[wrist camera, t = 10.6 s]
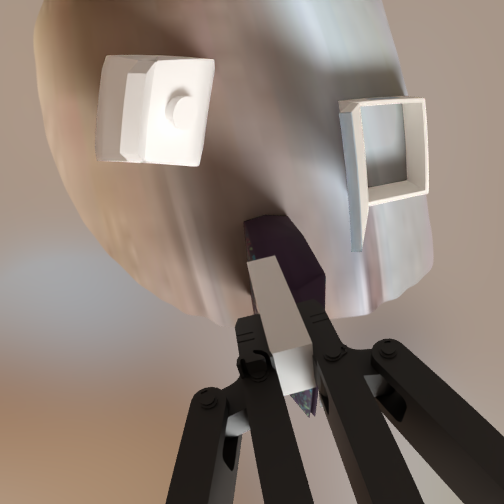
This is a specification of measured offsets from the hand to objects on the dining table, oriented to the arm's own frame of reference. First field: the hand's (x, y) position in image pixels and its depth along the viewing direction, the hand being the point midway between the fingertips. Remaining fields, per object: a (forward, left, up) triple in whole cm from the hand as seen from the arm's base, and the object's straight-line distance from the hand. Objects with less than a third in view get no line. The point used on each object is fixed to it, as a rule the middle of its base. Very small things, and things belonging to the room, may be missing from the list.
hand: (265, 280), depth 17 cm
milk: (-6, -10, -35) cm, 37 cm away
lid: (-6, +16, -22) cm, 27 cm away
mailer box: (-10, +24, -34) cm, 43 cm away
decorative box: (+15, +12, -35) cm, 40 cm away
